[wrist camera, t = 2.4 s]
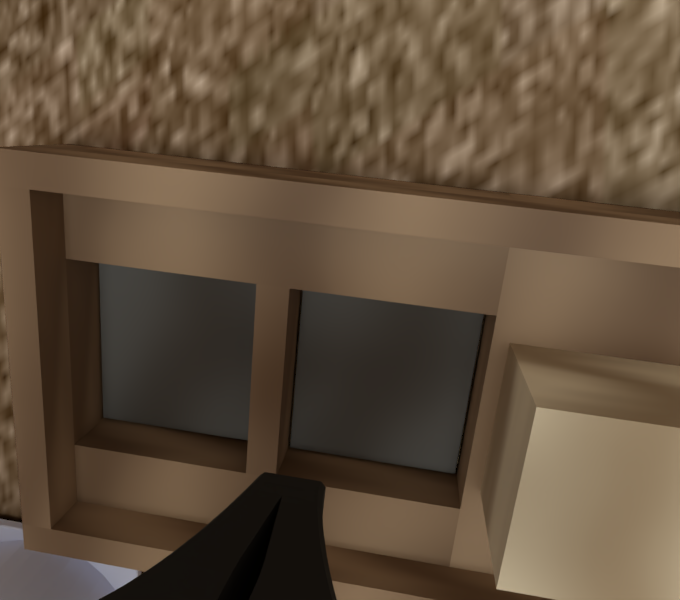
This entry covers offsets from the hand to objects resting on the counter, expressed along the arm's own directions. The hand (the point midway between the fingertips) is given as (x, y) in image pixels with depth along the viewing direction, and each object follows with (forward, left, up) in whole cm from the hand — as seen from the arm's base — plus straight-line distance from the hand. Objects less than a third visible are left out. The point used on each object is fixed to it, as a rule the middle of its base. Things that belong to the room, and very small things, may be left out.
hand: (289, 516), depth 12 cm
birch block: (+7, 0, -6) cm, 10 cm away
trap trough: (+4, 0, -8) cm, 9 cm away
